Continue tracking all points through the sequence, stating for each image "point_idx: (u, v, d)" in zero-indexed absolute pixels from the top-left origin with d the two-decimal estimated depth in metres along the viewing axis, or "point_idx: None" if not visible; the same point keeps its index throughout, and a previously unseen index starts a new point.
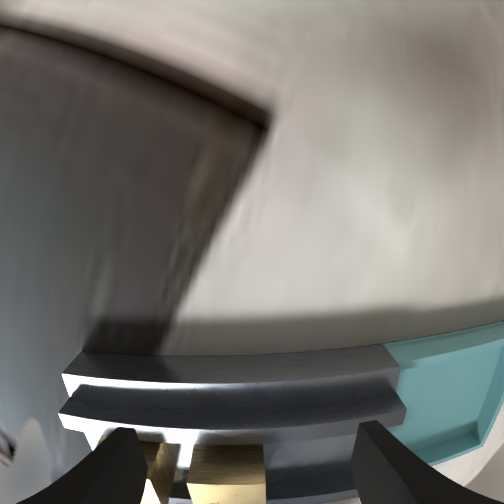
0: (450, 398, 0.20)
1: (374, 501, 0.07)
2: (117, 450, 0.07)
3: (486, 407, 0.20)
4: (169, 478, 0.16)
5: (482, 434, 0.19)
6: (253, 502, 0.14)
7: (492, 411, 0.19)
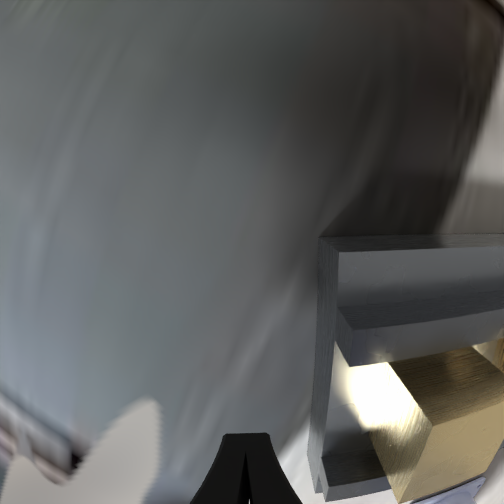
0: None
1: None
2: (243, 460, 0.07)
3: None
4: None
5: None
6: None
7: None
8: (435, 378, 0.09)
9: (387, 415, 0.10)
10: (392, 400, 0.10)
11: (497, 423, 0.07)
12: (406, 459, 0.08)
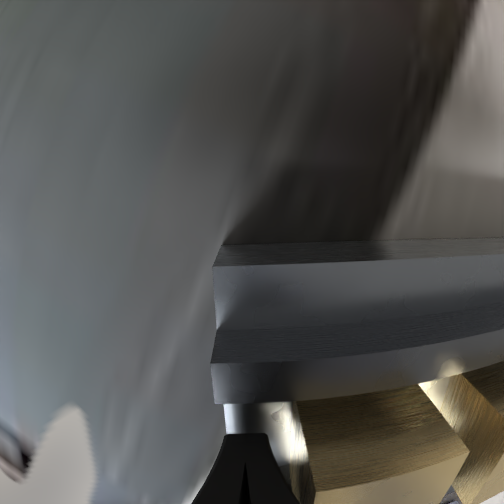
0: None
1: None
2: (244, 459, 0.07)
3: None
4: None
5: None
6: None
7: None
8: (349, 422, 0.07)
9: (295, 455, 0.08)
10: (297, 441, 0.08)
11: (427, 486, 0.06)
12: None
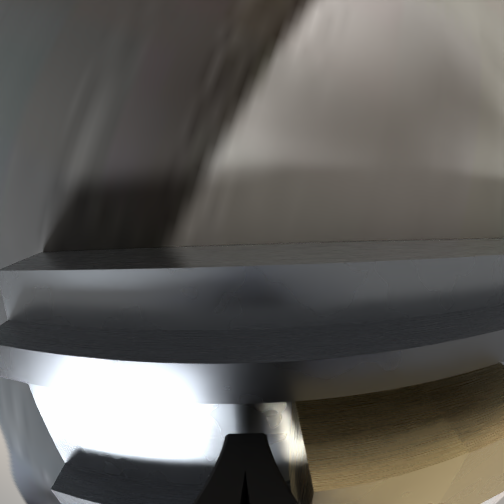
0: None
1: None
2: (245, 459, 0.07)
3: None
4: None
5: None
6: None
7: None
8: (348, 422, 0.07)
9: (294, 454, 0.08)
10: (296, 440, 0.08)
11: (426, 486, 0.06)
12: None
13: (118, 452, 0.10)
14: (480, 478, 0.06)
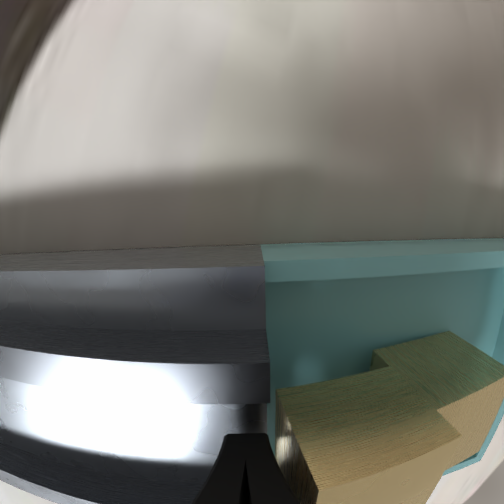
0: None
1: None
2: (244, 459, 0.07)
3: None
4: None
5: None
6: None
7: None
8: (337, 418, 0.08)
9: (283, 454, 0.08)
10: (285, 440, 0.08)
11: (423, 473, 0.06)
12: None
13: None
14: None
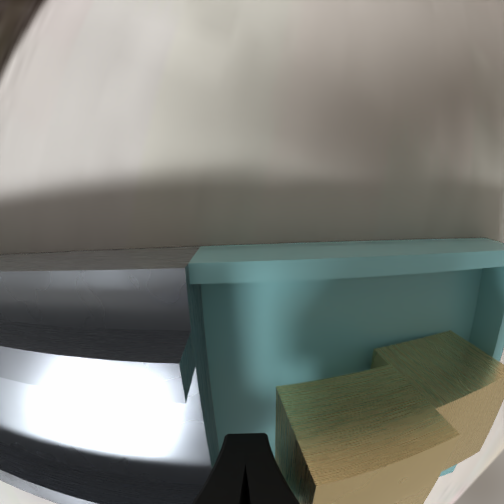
0: None
1: None
2: (245, 459, 0.07)
3: None
4: None
5: None
6: None
7: None
8: (337, 415, 0.08)
9: (283, 451, 0.08)
10: (284, 436, 0.08)
11: (421, 471, 0.06)
12: None
13: None
14: None
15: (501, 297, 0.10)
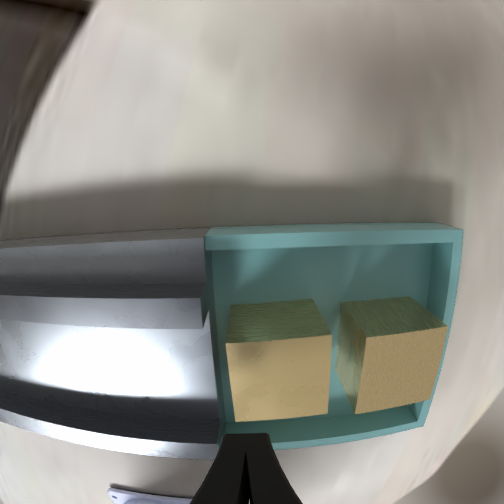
0: None
1: None
2: (243, 460, 0.07)
3: None
4: None
5: (419, 406, 0.16)
6: None
7: None
8: (258, 318, 0.14)
9: None
10: None
11: (307, 359, 0.12)
12: None
13: None
14: None
15: (446, 268, 0.14)
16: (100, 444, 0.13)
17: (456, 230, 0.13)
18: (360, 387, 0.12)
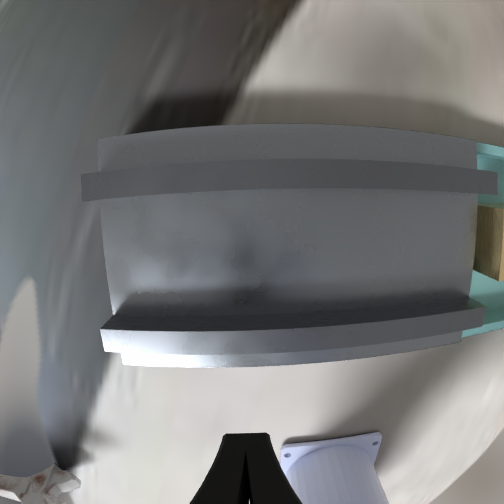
0: None
1: None
2: (243, 459, 0.07)
3: None
4: None
5: None
6: None
7: None
8: (494, 205, 0.15)
9: None
10: None
11: None
12: (494, 245, 0.14)
13: (167, 284, 0.15)
14: None
15: None
16: (391, 336, 0.14)
17: None
18: None
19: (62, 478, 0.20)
